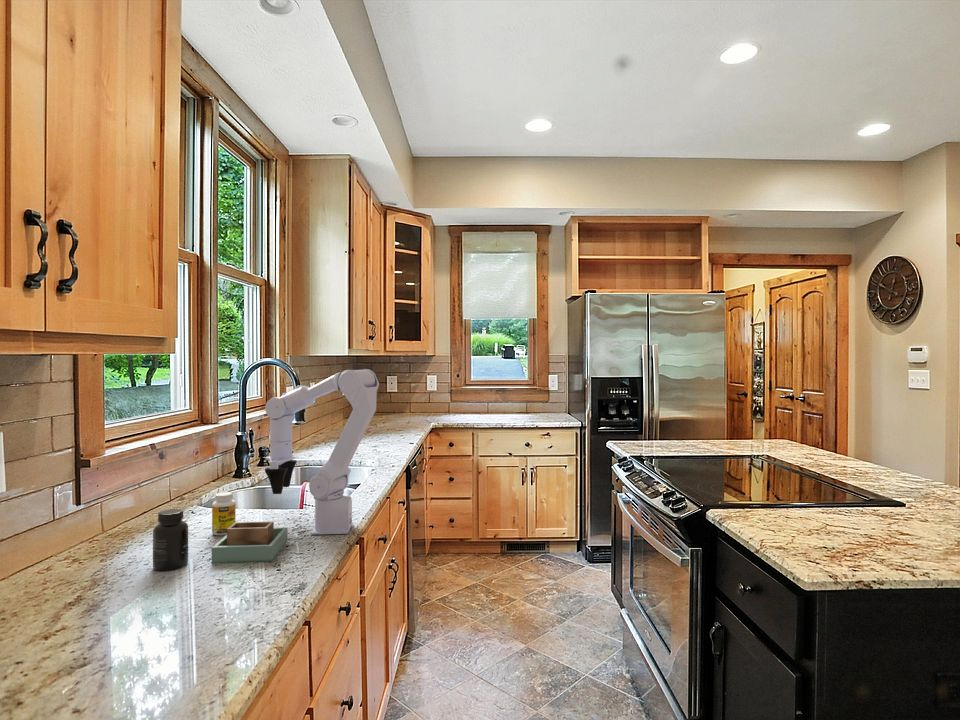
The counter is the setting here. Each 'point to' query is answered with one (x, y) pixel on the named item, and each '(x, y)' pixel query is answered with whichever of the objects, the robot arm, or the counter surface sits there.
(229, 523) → the supplement bottle
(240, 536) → the walnut crate
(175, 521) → the supplement bottle
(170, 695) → the counter surface
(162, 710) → the counter surface
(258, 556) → the green crate
